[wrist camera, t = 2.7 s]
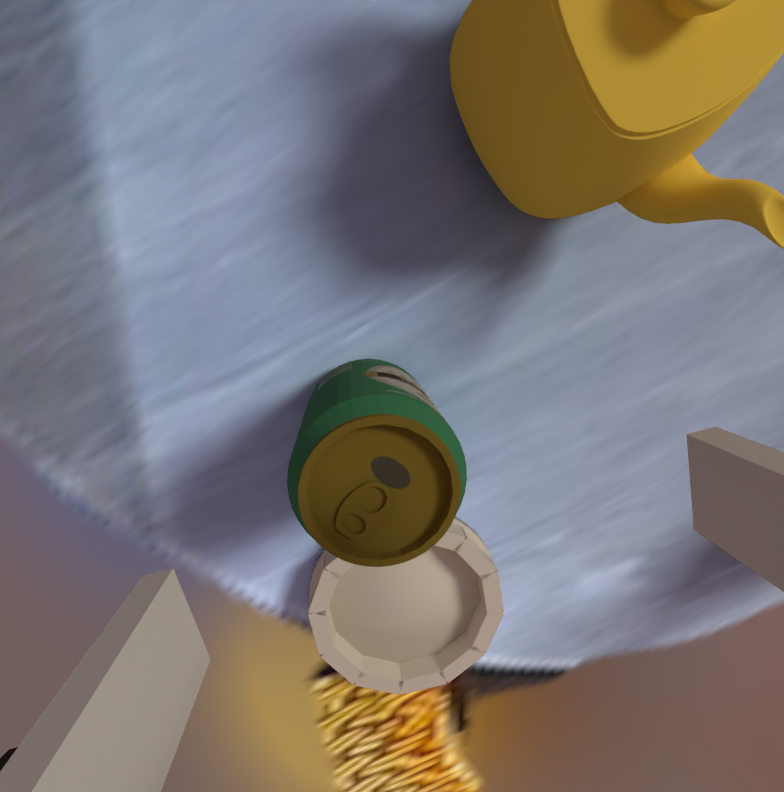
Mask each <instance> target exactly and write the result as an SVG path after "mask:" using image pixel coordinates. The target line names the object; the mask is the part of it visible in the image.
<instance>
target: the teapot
mask: <svg viewBox="0 0 784 792" xmlns="http://www.w3.org/2000/svg"><path fill="white" fill-rule="evenodd" d="M783 53H784V0H472V2H471V3H470V5H469V6H468V8H467V9H466V11H465V13H464V15H463V17H462V19H461V22H460V24H459V26H458V28H457V31H456V33H455V35H454V38H453V42H452V47H451V51H450V65H449V69H450V78H451V86H452V90H453V94H454V97H455V100H456V104H457V107H458V110H459V113H460V115H461V118H462V120H463V123H464V126H465V128H466V131H467V133H468V135H469V138H470V140H471V142H472V144H473V146H474V148H475V151H476V152H477V154H478V156H479V158H480V159H481V161H482V163H483V165H484V166H485V168H486V170H487V171H488V173H489V174H490V176H491V177H492V179H493V180H494V182H495V183H496V185H497V186H498V187H499V189H500V190H501V191H502V193H503V194H504V195H505V196H506V198H507V199H508V200H509V201H510V202H511V203H512V204H513V205H514V206H516V207H517V208H518V209H519V210H521V211H523V212H525V213H527V214H529V215H532V216H536V217H539V218H547V219H557V218H564V217H571V216H575V215H579V214H583V213H587V212H590V211H593V210H596V209H598V208H601V207H604V206H607V205H609V204H612V203H614V202H616V201H617V202H618V203H619V204H621V205H622V206H623V207H624V208H626V209H627V210H628V211H629V212H631V213H633V214H634V215H636V216H638V217H639V218H641V219H644V220H648V221H651V222H654V223H665V224H671V223H685V222H693V221H702V220H712V219H727V220H733V221H739V222H742V223H744V224H747V225H749V226H752V227H754V228H755V229H757V230H758V231H759V232H761V233H762V234H763V235H765V236H766V237H768V238H769V239H770V240H771V241H772V242H773V243H775V244H776V245H778V246H779V247H781V248H783V249H784V196H783V195H782V194H781V193H779V192H778V191H777V190H775V189H773V188H771V187H769V186H768V185H766V184H763V183H760V182H757V181H753V180H747V179H723V178H718V177H715V176H713V175H711V174H709V173H708V172H707V171H705V170H704V168H703V167H702V166H701V165H700V164H699V163H698V162H697V161H696V159H695V158H694V156H693V155H692V152H693V151H695V150H696V149H697V148H698V147H699V146H700V145H702V144H703V143H704V142H705V141H706V140H707V139H708V138H709V137H710V136H711V135H712V134H713V133H714V132H715V131H716V130H717V129H718V128H719V127H720V126H721V125H722V124H723V123H724V122H725V121H726V120H727V118H728V117H729V116H730V115H731V114H732V113H733V112H734V111H735V110H736V109H737V108H738V107H739V106H740V105H741V104H742V103H743V101H744V100H745V99H746V98H747V97H748V96H749V95H750V93H751V92H752V91H753V90H754V89H755V88H756V86H757V85H758V84H759V83H760V82H761V81H762V79H763V78H764V77H765V76H766V75H767V73H768V72H769V71H770V70H771V68H772V67H773V66H774V65H775V63H776V62H777V61H778V59H779V58H780V57H781V55H782V54H783Z"/></svg>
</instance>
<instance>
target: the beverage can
mask: <svg viewBox="0 0 784 792" xmlns="http://www.w3.org/2000/svg"><path fill="white" fill-rule="evenodd" d="M466 480H467V476H466V462H465V457H464V453H463V450H462V448H461V445H460V442H459V440H458V439H457V437H456V435H455V433H454V432H453V430H452V429H451V427H450V426H449V425H448V423H447V422H446V421H445V419H444V418H443V416H442V415H441V414H440V412H439V411H438V410H437V408H436V407H435V406H434V404H433V403H432V402H431V400H430V399H429V397H428V396H427V395H426V393H425V392H424V391H423V389H422V388H421V387H420V385H419V384H418V383H417V382H416V380H415V379H414V378H413V377H412V376H411V375H410V374H409V373H407V372H406V371H405V370H403V369H402V368H400V367H399V366H397V365H394V364H392V363H389V362H386V361H382V360H375V359H362V360H356V361H351V362H348V363H346V364H343V365H341V366H339V367H337V368H336V369H334V370H332V371H331V372H330V373H328V374H327V375H326V376H325V377H324V378H323V379H322V380H321V381H320V382H319V384H318V385H317V387H316V388H315V390H314V391H313V393H312V396H311V398H310V400H309V403H308V406H307V409H306V412H305V415H304V418H303V422H302V425H301V428H300V431H299V434H298V437H297V440H296V443H295V446H294V449H293V452H292V455H291V459H290V463H289V468H288V479H287V485H288V494H289V499H290V502H291V505H292V509H293V511H294V513H295V515H296V517H297V519H298V521H299V522H300V524H301V525H302V526H303V528H304V529H305V530H306V532H307V533H308V534H309V535H310V536H311V537H312V538H313V539H314V540H315V541H316V542H317V543H318V544H319V545H320V546H321V547H322V548H323V549H325V550H326V551H328V552H329V553H330V554H332V555H333V556H335V557H337V558H339V559H341V560H343V561H346V562H349V563H352V564H355V565H361V566H367V567H384V566H392V565H396V564H400V563H404V562H407V561H409V560H412V559H414V558H416V557H418V556H420V555H421V554H423V553H425V552H426V551H428V550H429V549H430V548H431V547H433V546H434V545H435V544H436V543H437V542H438V541H439V540H440V539H441V538H442V537H443V536H444V534H445V533H446V532H447V530H448V529H449V527H450V526H451V524H452V522H453V520H454V518H455V516H456V513H457V511H458V509H459V507H460V505H461V502H462V499H463V496H464V493H465V487H466Z"/></svg>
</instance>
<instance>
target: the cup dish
mask: <svg viewBox="0 0 784 792" xmlns="http://www.w3.org/2000/svg"><path fill="white" fill-rule="evenodd" d="M503 612H504V610H503V603H502V596H501V589H500V582H499V575H498V571H497V569H496V567H495V564H494V562H493V559H492V557H491V555H490V553H489V551H488V549H487V548H486V546H485V544H484V542H483V541H482V540H481V538H480V537H479V536H478V535H477V533H476V532H475V531H474V530H473V529H471V528H470V527H469V526H468V525H467V524H465V523H464V522H463V521H461V520H460V519H458V518H456V517H455V518H454V520H453V522H452V524H451V526H450V527H449V529H448V530H447V532H446V533H445V534H444V536H443V537H442V538H441V539H440V540H439V541H438V542H437V543H436V544H435V545H434V546H433V547H431V548H430V549H429V550H428V551H426V552H425V553H423V554H421V555H420V556H418V557H416V558H414V559H412V560H409V561H407V562H404V563H400V564H396V565H392V566H384V567H367V566H361V565H355V564H352V563H349V562H346V561H343V560H341V559H339V558H337V557H335V556H333V555H332V554H330V553H329V552H328V551H326V550H325V549H324V550H323V551H322V553H321V555H320V556H319V558H318V560H317V563H316V565H315V567H314V570H313V574H312V577H311V583H310V591H309V609H308V616H309V620H310V624H311V627H312V631H313V635H314V638H315V642H316V646H317V649H318V653H319V655H320V656H321V658H322V659H323V660H325V661H326V662H327V663H328V664H329V665H330V666H332V667H333V668H334V669H335V670H336V671H337V672H339V673H340V674H341V675H342V676H343V677H344V678H346V679H347V680H348V681H349V682H350V683H351V684H354V683H355V686H360V687H364V688H369V689H374V690H379V691H384V692H389V693H394V694H398V695H399V693H400V691H401V695H402V694H406V693H410V692H414V691H418V690H423V689H427V688H431V687H435V686H440V685H444V684H446V681H447V682H448V683H449V682H450V681H452V680H453V679H454V678H455V677H457V676H458V675H459V674H461V673H462V672H463V671H464V670H466V669H467V668H468V667H470V666H471V665H472V664H474V663H475V662H476V661H477V660H479V659H480V658H481V657H483V656H484V653H486V652H487V650H488V647H489V645H490V643H491V641H492V639H493V636H494V634H495V632H496V630H497V628H498V626H499V623H500V621H501V619H502V617H503Z"/></svg>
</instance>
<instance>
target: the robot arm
mask: <svg viewBox="0 0 784 792" xmlns="http://www.w3.org/2000/svg"><path fill="white" fill-rule="evenodd" d="M687 445H688V458H689V472H690V485H691V498H692V511H693V524H694V530H695V531H697V532H698V533H700V534H701V535H702V536H704V537H705V538H707V539H708V540H710V541H711V542H713V543H714V544H715V545H717V546H718V547H720V548H721V549H723V550H724V551H726V552H727V553H729V554H730V555H731V556H733V557H734V558H736V559H737V560H739V561H740V562H742V563H743V564H744V565H746V566H747V567H749V568H750V569H752V570H753V571H755V572H756V573H757V574H759V575H760V576H762V577H763V578H765V579H766V580H768V581H769V582H771V583H772V584H773V585H775V586H776V587H778V588H779V589H781V590H782V591H784V452H782V451H779V450H776V449H774V448H771V447H768V446H766V445H763V444H760V443H758V442H755V441H752V440H749V439H747V438H744V437H741V436H739V435H736V434H733V433H731V432H728V431H725V430H722V429H720V428H717V427H713V428H709V429H705V430H701V431H697V432H694V433H690V434H687ZM209 662H210V657H209V655H208V653H207V650H206V648H205V646H204V643H203V640H202V638H201V635H200V633H199V630H198V628H197V626H196V623H195V620H194V618H193V615H192V613H191V611H190V608H189V606H188V603H187V601H186V598H185V596H184V593H183V591H182V588H181V586H180V583H179V581H178V578H177V576H176V573H175V571H174V569H173V568H172V569H168V570H164V571H160V572H156V573H152V574H148V575H145V576H142V577H141V578H140V580H139V581H138V583H137V584H136V585H135V586H134V588H133V589H132V591H131V592H130V593H129V595H128V596H127V598H126V599H125V600H124V602H123V603H122V604H121V606H120V607H119V609H118V610H117V611H116V613H115V614H114V615H113V617H112V618H111V620H110V621H109V622H108V624H107V625H106V627H105V628H104V629H103V631H102V632H101V633H100V635H99V636H98V638H97V639H96V640H95V642H94V643H93V645H92V646H91V647H90V649H89V650H88V651H87V653H86V654H85V655H84V657H83V658H82V660H81V661H80V662H79V664H78V665H77V666H76V668H75V669H74V671H73V672H72V673H71V675H70V676H69V678H68V679H67V680H66V682H65V683H64V684H63V686H62V687H61V689H60V690H59V691H58V693H57V694H56V695H55V697H54V698H53V700H52V701H51V703H50V704H49V705H48V706H47V708H46V709H45V711H44V712H43V713H42V715H41V716H40V718H39V719H38V720H37V722H36V723H35V725H34V726H33V727H32V729H31V730H30V731H29V733H28V734H27V735H26V737H25V738H24V740H23V741H22V742H21V744H20V745H19V747H17V748H13V749H10V750H8V751H7V752H6V753H5V754H4V755H3V756H2V757H1V758H0V792H161V789H162V787H163V784H164V782H165V779H166V776H167V773H168V771H169V768H170V766H171V763H172V760H173V758H174V755H175V752H176V749H177V747H178V744H179V742H180V739H181V736H182V734H183V731H184V728H185V726H186V723H187V720H188V718H189V715H190V712H191V710H192V707H193V704H194V702H195V699H196V696H197V694H198V691H199V688H200V686H201V683H202V680H203V678H204V675H205V672H206V670H207V667H208V664H209Z"/></svg>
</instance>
